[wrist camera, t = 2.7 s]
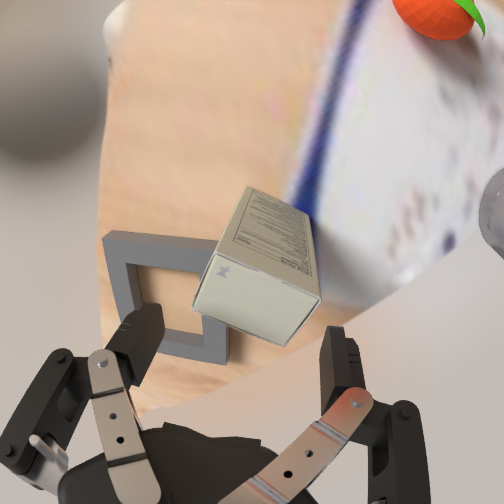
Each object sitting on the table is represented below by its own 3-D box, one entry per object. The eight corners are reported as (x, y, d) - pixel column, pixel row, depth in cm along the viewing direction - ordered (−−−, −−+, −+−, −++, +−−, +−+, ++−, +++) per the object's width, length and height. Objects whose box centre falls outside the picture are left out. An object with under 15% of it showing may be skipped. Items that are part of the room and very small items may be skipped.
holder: (230, 242, 28) (225, 252, 26) (229, 353, 35) (226, 365, 33) (111, 230, 29) (101, 238, 27) (133, 334, 36) (127, 344, 34)
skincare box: (227, 225, 27) (182, 308, 16) (246, 183, 25) (207, 247, 14) (290, 255, 28) (284, 352, 17) (313, 216, 26) (324, 301, 15)
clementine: (470, 25, 14) (512, 11, 8) (441, 70, 17) (485, 63, 11) (401, -32, 13) (428, -64, 7) (367, 10, 16) (390, -20, 10)
